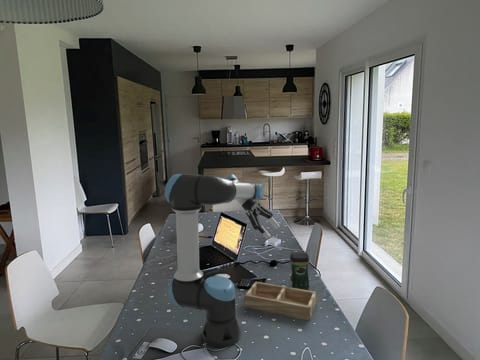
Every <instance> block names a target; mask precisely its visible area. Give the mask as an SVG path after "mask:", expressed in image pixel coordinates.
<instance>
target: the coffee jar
mask: <svg viewBox="0 0 480 360" xmlns="http://www.w3.org/2000/svg"><path fill="white" fill-rule="evenodd" d="M289 263H290V278H289V279H290V280H289V287H291V288H297V289H303V290H309V289H310V279H309V263H310V257H309V254H308V252H307V251H303V252H302V251H301V252H299V251H298V252H294V251H293V252H292V251H291V252H290V256H289Z"/></svg>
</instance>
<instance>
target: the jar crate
mask: <svg viewBox="0 0 480 360" xmlns="http://www.w3.org/2000/svg"><path fill="white" fill-rule="evenodd" d="M316 306H317V291H313V290H309V289H307V290H303V289H297V288H291V287H290V286H283V285H277V284H271V283H266V282H261V281H254V283H253V284H252V286H251V287H250V288H249V289H248V291H247V292H246V293H245V295H244V308H245V309H250V310H251V309H252V310H255V311H261V312H265V313H270V314H276V315H280V316H285V317H291V318H296V319H300V320H306V321H310V320H311V318H312V315H313V313H314V310H315V307H316Z"/></svg>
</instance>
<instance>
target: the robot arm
mask: <svg viewBox="0 0 480 360" xmlns="http://www.w3.org/2000/svg"><path fill="white" fill-rule="evenodd" d="M165 185H166V186H165V189H164V196H165V199H166V202H168V203H169V204H171V210H172V211H174V212H175V221H176V223H175V224H176V228H175V229H176V253H177V254H176V255H177V257H176V258H177V271H176V272H175V273H174V274H173V275H174V276H173V277H172V278H171V279H170V281H169V285H168V291H167V292H168V298H169V300H170V302H171V303H172V304H173V305H175V306H179V307H180V308H187V309H192V310H197V311H203V312H205V321H204V324H203V327H202V333H201V334H202V340H203V342H204V344H207V345H208V346H210V347H214V348H227V347H231V346H233V345H234V344H236V343H237V342H238V341H239V340H240V339H241V327H240V325H239V322H238V319H237V318H236V289H235V285H234V283H233V281H232V280H230V278H227V277H225V276H221V275H216V276H210V277H207V278H206V279H204V272H203V271H202V270H201V269H200V243H199V241H200V240H199V239H200V237H199V212H200V211H201V210H202V209H203V206H216V205H221V204H228V203H231V202H233V201H237V203H239V204H240V205H241V207H242V208H243V210H245V211H246V212H245V214H246V216H247V217H248V220H249V221H250V223H251V226H252V228H253V230H255V231H257V230H258V231H259V233H261V235H262V236H263V237H264V238H265V239H266V240H267V239H270V237H271V236H272V235H271V234H270V232H268V231H267V230H266V229H265V227H264V226H263V225H261V222H260V218H259V216H262V217H264V218H266V219H268V220H267V221H268V222H269V223H270V224H271V226H272V227H273V228H274V229H275V230H277V229H279V228H280V227H281V225H279V223H278V222H277V221H276V219H275V218H274V217H273V216H274V213H273V212H271V210H269V209H267V207H265V206H263V205H262V204H261V203H260V202H258V203H257V201H259V200H262V199H263V198H264V195H265V190H264V185H263V184H261V183H251V182H250V183H248V182H241V181H240V180H239V178H238V177H237V176H236V175H234V174H233V173H232V174H231V173H230V175H228V176H226V177H223V178H222V177H219V176H214V175H210V174H192V173H176V174H173V175H172V176H171V177H169V179H168V181H167V183H166V184H165Z"/></svg>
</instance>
